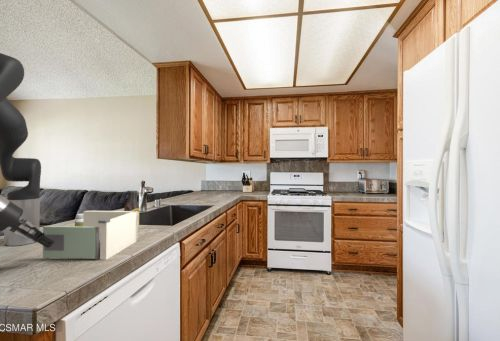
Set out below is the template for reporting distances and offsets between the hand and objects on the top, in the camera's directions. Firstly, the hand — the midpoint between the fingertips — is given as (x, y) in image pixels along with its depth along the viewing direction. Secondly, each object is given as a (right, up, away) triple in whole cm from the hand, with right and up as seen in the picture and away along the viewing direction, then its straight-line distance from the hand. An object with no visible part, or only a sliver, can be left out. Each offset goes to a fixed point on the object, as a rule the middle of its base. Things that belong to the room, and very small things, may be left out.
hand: (50, 244), depth 72 cm
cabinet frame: (+4, -6, +14) cm, 15 cm away
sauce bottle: (+8, -6, +33) cm, 34 cm away
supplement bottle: (-12, -6, +30) cm, 33 cm away
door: (+3, -5, +4) cm, 7 cm away
